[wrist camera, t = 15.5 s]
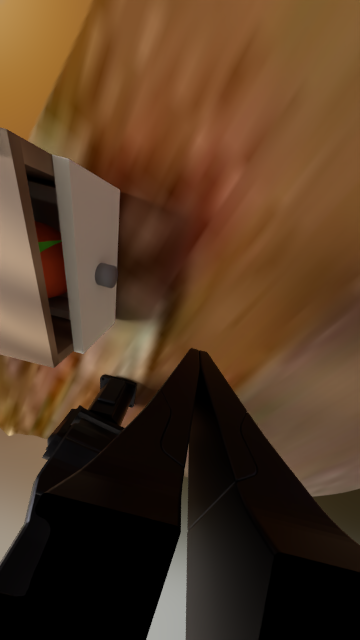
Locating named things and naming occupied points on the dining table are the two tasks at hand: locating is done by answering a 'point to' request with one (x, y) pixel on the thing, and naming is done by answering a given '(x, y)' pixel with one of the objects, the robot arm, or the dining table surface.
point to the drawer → (82, 246)
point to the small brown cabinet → (25, 260)
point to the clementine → (51, 259)
